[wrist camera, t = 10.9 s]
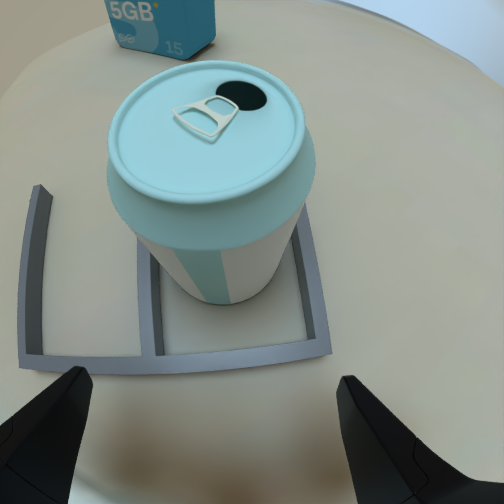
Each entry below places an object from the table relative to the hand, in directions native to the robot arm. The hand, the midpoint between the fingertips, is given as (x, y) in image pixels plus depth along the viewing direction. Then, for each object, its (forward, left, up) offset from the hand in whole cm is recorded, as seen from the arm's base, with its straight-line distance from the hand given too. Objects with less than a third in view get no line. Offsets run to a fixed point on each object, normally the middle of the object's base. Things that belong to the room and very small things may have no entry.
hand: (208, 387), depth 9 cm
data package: (+33, +4, -8) cm, 34 cm away
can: (+7, -1, -8) cm, 11 cm away
